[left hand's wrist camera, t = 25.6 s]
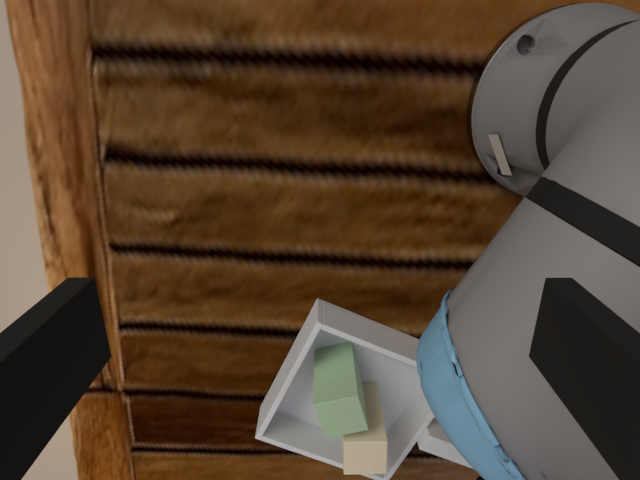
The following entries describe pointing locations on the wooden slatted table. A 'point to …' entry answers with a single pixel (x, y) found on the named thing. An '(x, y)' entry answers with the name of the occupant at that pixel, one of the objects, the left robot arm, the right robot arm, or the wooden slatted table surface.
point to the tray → (376, 366)
